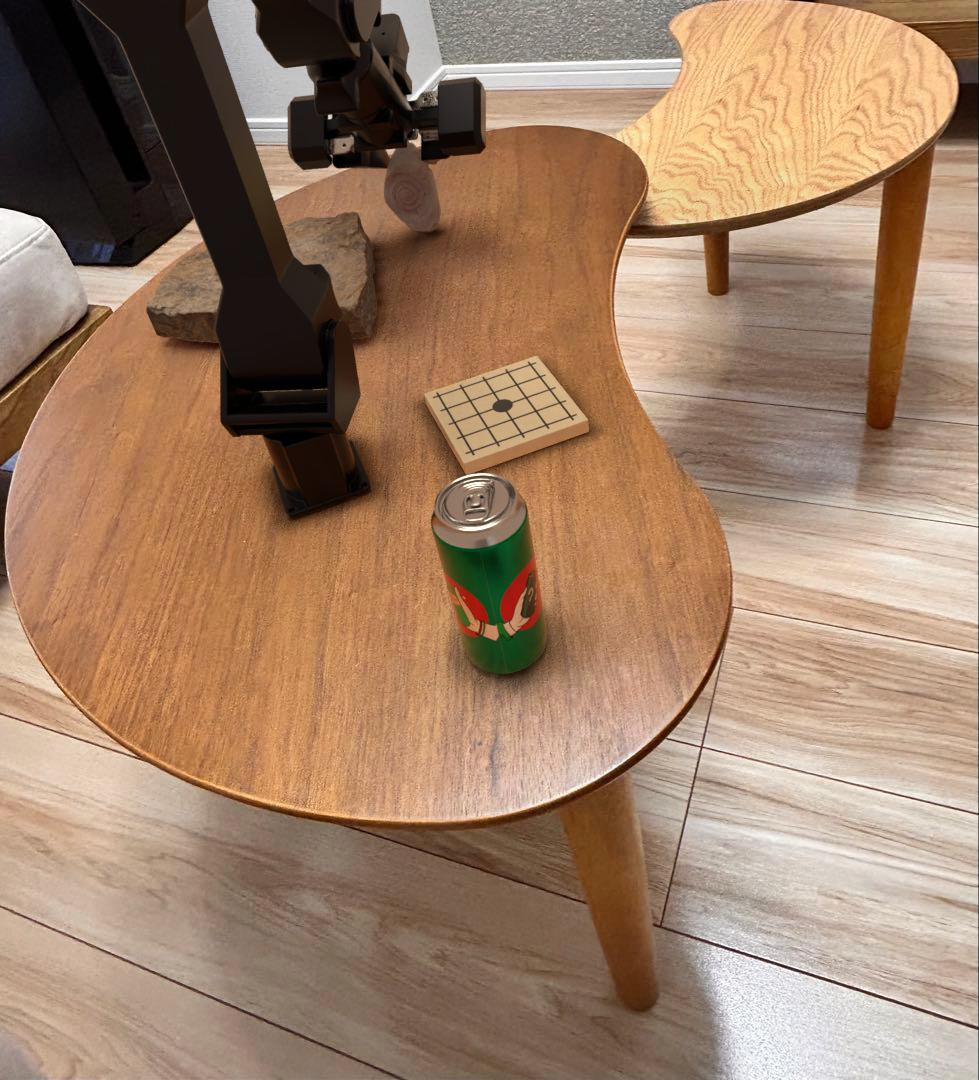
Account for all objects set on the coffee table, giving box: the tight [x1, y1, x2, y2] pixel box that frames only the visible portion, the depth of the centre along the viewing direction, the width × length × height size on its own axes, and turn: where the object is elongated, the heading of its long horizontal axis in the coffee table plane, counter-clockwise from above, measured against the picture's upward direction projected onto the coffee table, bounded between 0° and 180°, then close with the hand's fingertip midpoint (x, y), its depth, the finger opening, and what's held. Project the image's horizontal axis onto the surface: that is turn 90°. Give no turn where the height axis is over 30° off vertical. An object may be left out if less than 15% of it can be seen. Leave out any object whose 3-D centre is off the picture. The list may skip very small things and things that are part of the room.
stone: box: [145, 211, 379, 344], centre depth 86 cm, size 21×19×4 cm
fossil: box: [383, 140, 442, 234], centre depth 90 cm, size 6×4×10 cm, turn 73°
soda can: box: [430, 472, 548, 675], centre depth 48 cm, size 5×5×12 cm
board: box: [423, 355, 590, 476], centre depth 68 cm, size 10×10×1 cm
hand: (411, 161), depth 89 cm, fingers closed on fossil, 4 cm apart
